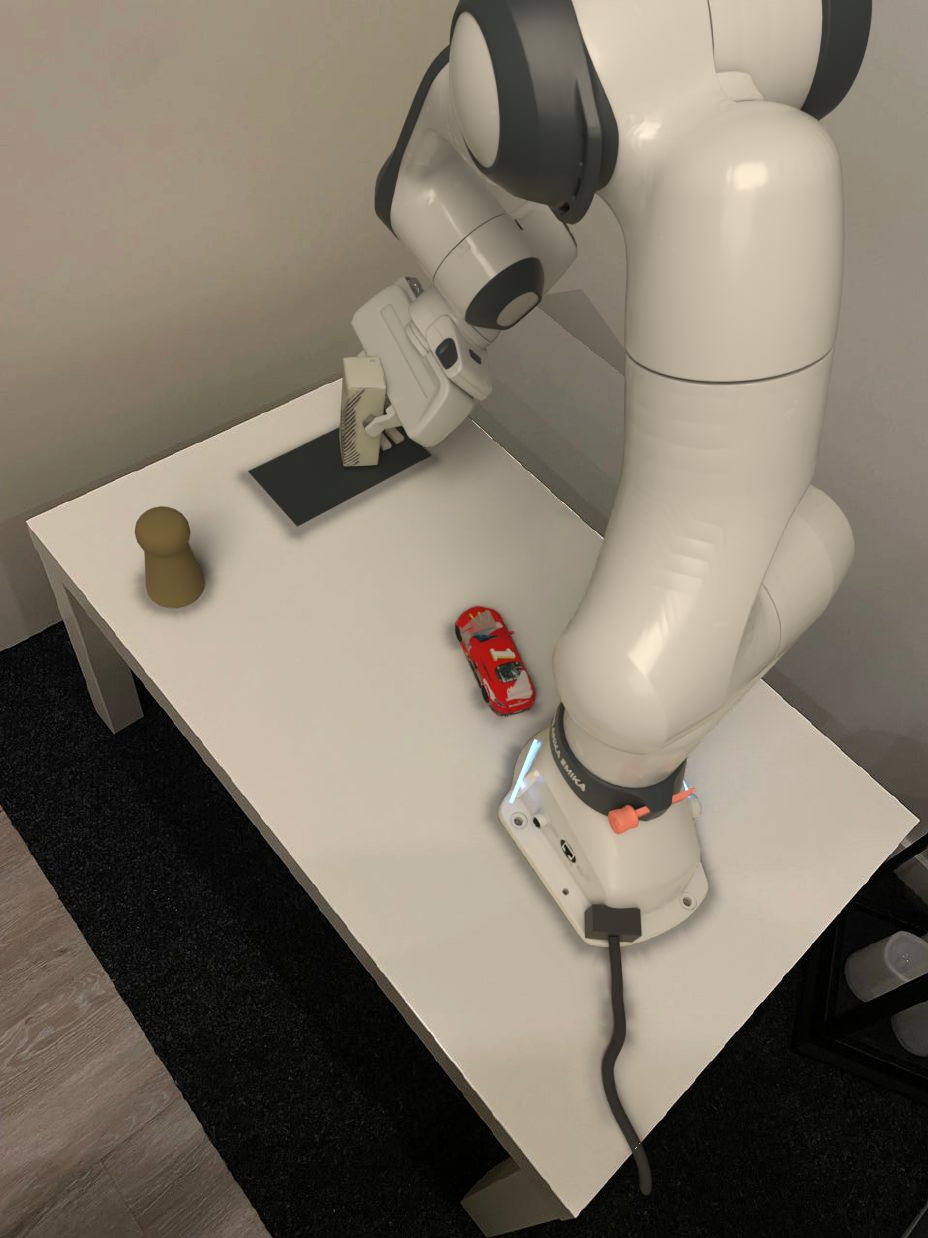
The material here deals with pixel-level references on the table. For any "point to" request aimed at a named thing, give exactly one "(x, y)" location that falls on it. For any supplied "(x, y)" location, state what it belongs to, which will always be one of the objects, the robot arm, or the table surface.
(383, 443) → the beige rectangular block
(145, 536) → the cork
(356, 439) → the box
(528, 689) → the race car
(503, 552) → the table surface
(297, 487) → the slate board
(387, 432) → the beige rectangular block
